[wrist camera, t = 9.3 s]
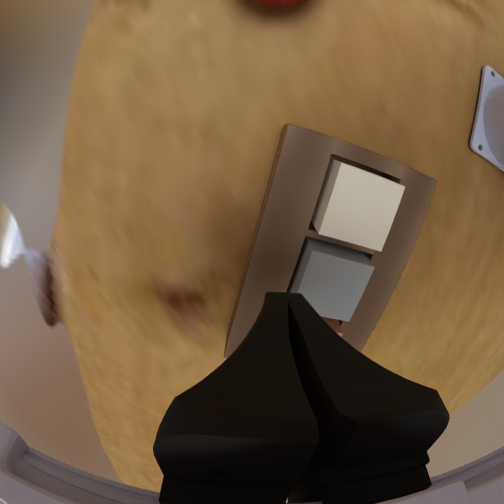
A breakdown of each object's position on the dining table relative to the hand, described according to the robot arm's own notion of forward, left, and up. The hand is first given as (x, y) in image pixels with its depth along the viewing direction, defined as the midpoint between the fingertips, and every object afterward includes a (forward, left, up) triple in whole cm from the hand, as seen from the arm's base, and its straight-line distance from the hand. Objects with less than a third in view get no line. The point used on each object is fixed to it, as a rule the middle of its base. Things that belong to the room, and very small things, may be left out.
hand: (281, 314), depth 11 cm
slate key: (-4, +1, -8) cm, 9 cm away
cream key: (-4, -4, -8) cm, 10 cm away
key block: (-4, +1, -10) cm, 11 cm away
